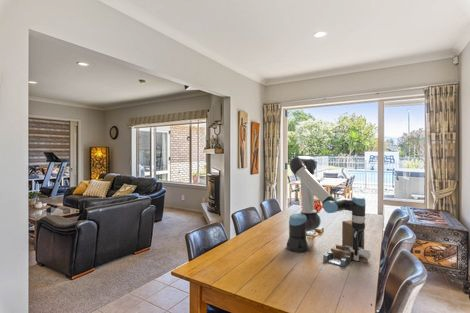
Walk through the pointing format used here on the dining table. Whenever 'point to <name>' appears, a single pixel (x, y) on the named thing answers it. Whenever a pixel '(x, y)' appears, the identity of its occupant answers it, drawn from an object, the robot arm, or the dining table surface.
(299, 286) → the dining table surface
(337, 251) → the wooden clevis bracket
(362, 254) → the axle
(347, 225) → the wooden block
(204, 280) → the dining table surface
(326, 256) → the v block
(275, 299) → the dining table surface
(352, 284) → the dining table surface
